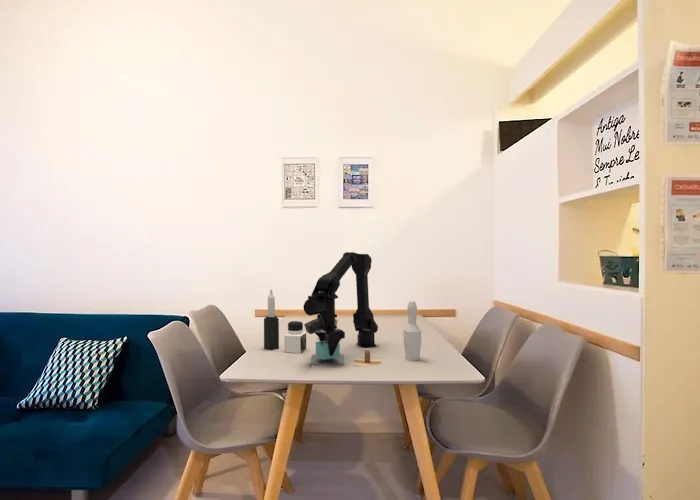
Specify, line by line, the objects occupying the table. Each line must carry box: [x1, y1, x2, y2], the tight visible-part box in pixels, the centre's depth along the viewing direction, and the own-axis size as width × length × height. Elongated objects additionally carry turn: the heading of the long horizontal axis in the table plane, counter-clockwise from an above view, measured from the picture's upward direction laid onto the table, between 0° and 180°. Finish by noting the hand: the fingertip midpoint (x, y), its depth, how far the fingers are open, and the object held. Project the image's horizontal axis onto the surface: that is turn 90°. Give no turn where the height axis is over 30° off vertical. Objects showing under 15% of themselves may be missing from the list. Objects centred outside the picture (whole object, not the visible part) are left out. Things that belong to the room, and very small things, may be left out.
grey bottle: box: [403, 300, 422, 362], centre depth 143 cm, size 6×6×22 cm
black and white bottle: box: [263, 288, 280, 351], centre depth 161 cm, size 5×5×25 cm
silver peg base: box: [309, 342, 345, 367], centre depth 142 cm, size 12×12×7 cm
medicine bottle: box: [283, 320, 307, 354], centre depth 157 cm, size 7×7×12 cm
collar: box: [315, 340, 341, 360], centre depth 142 cm, size 7×7×5 cm
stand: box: [352, 349, 383, 367], centre depth 139 cm, size 10×10×5 cm
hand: (327, 353), depth 142 cm, fingers closed on collar, 7 cm apart
